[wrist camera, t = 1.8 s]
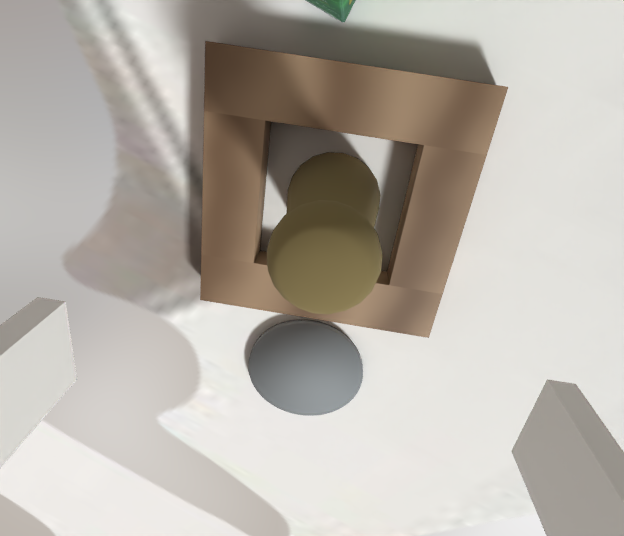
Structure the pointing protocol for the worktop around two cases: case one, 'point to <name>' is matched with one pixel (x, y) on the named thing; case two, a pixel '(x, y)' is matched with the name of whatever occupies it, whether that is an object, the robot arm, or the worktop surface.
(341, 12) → the coffee box
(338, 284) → the cork
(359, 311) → the collar board
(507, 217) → the worktop surface
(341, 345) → the coaster
